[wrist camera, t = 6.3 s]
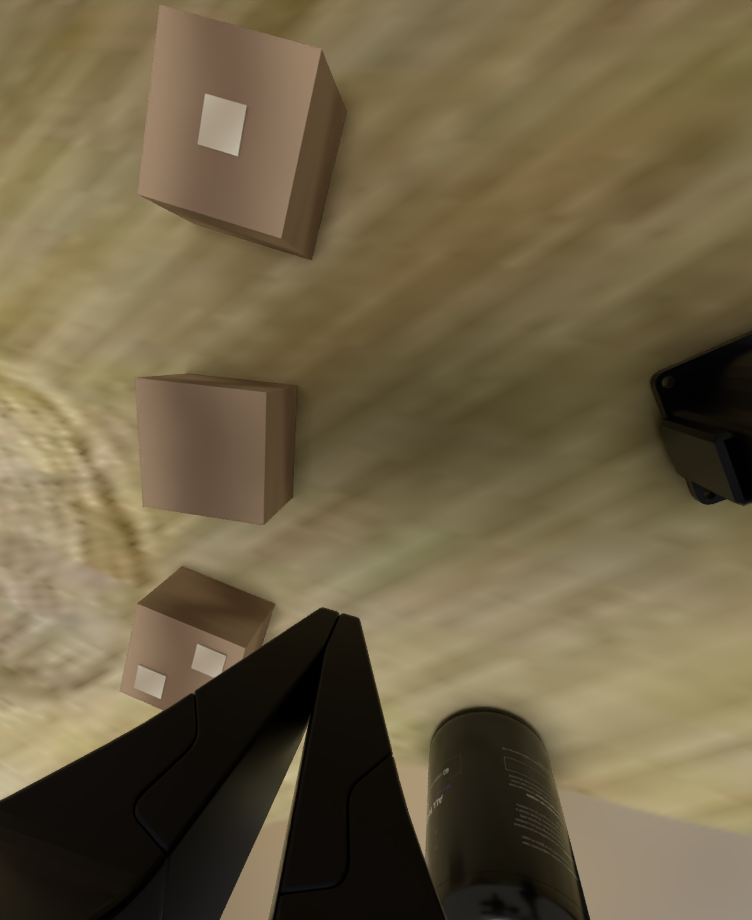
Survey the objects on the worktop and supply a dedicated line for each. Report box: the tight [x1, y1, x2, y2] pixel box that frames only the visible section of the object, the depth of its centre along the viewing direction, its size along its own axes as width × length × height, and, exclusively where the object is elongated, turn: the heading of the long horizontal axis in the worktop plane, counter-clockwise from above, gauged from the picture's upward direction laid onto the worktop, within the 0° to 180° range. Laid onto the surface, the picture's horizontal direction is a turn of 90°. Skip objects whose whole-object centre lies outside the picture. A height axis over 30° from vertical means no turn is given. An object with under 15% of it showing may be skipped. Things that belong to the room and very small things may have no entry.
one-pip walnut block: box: [137, 5, 346, 260], centre depth 17 cm, size 6×6×4 cm
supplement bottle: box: [425, 711, 590, 920], centre depth 19 cm, size 7×7×12 cm
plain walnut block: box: [135, 374, 297, 525], centre depth 20 cm, size 6×6×4 cm
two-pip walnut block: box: [120, 567, 275, 710], centre depth 24 cm, size 6×6×4 cm
